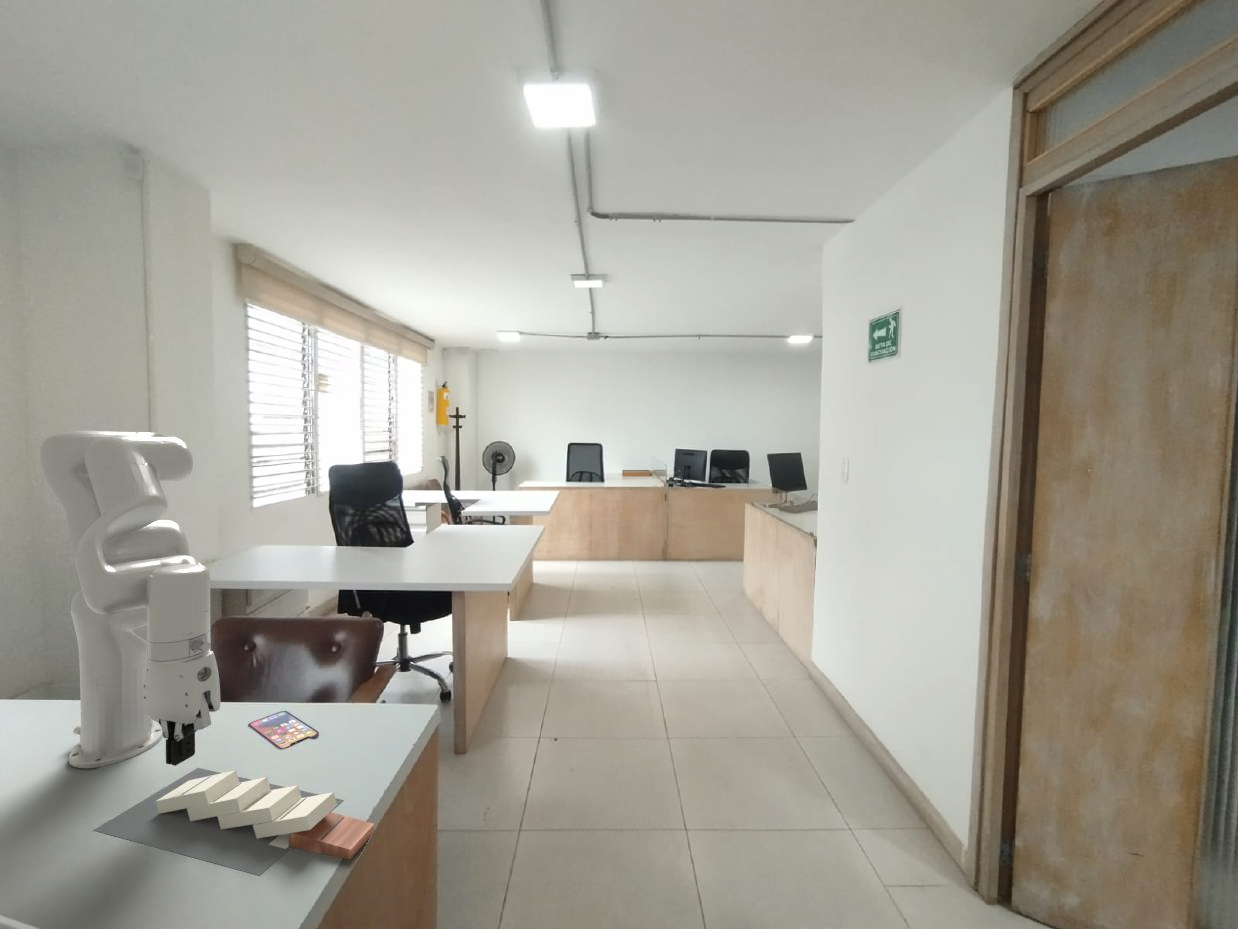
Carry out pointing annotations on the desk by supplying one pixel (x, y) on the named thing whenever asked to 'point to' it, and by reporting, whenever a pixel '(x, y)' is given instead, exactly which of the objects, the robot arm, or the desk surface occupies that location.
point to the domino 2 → (231, 800)
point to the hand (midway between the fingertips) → (180, 759)
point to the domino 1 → (197, 792)
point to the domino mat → (199, 832)
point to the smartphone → (283, 729)
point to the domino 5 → (334, 836)
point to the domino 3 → (263, 808)
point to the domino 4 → (298, 816)
